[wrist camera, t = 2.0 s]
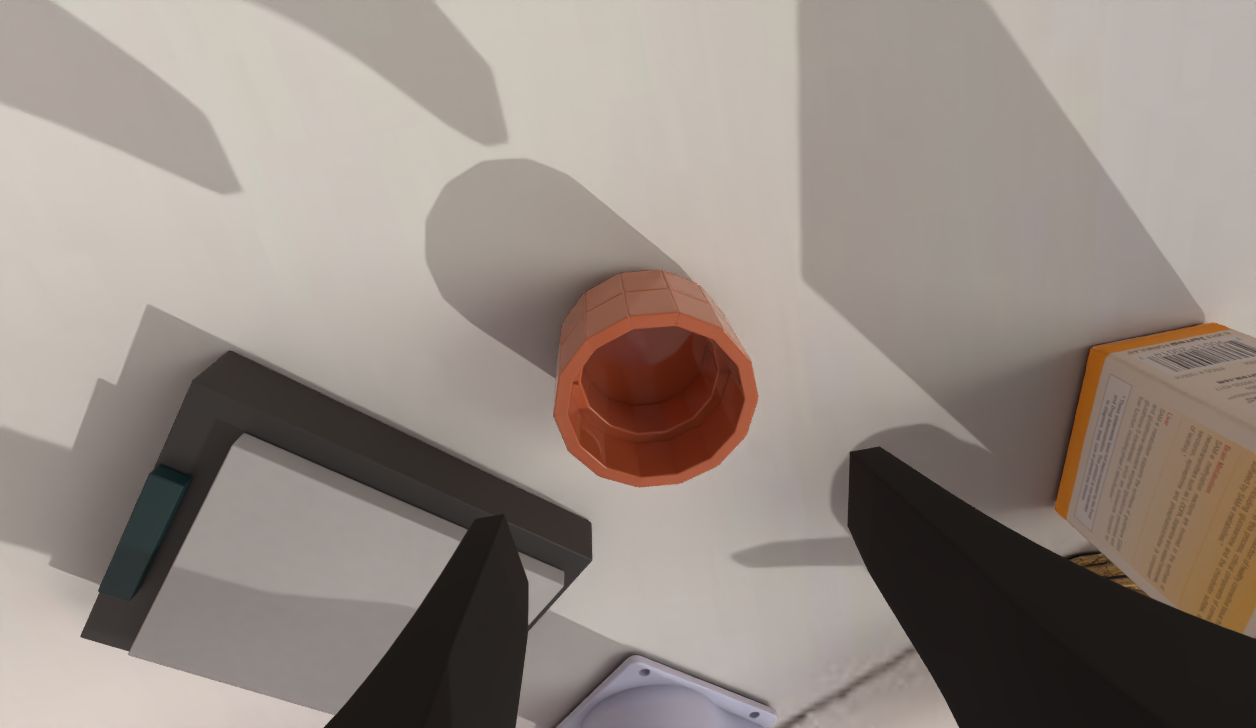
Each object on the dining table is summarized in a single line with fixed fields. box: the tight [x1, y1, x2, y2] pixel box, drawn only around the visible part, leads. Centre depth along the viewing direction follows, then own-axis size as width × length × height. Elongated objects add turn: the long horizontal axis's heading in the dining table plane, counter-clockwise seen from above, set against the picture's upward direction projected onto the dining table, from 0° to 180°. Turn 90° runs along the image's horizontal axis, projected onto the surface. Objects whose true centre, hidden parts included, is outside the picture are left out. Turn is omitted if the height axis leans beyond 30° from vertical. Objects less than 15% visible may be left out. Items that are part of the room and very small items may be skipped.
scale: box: [81, 351, 592, 715], centre depth 21 cm, size 14×13×3 cm
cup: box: [553, 270, 758, 487], centre depth 17 cm, size 6×6×4 cm
